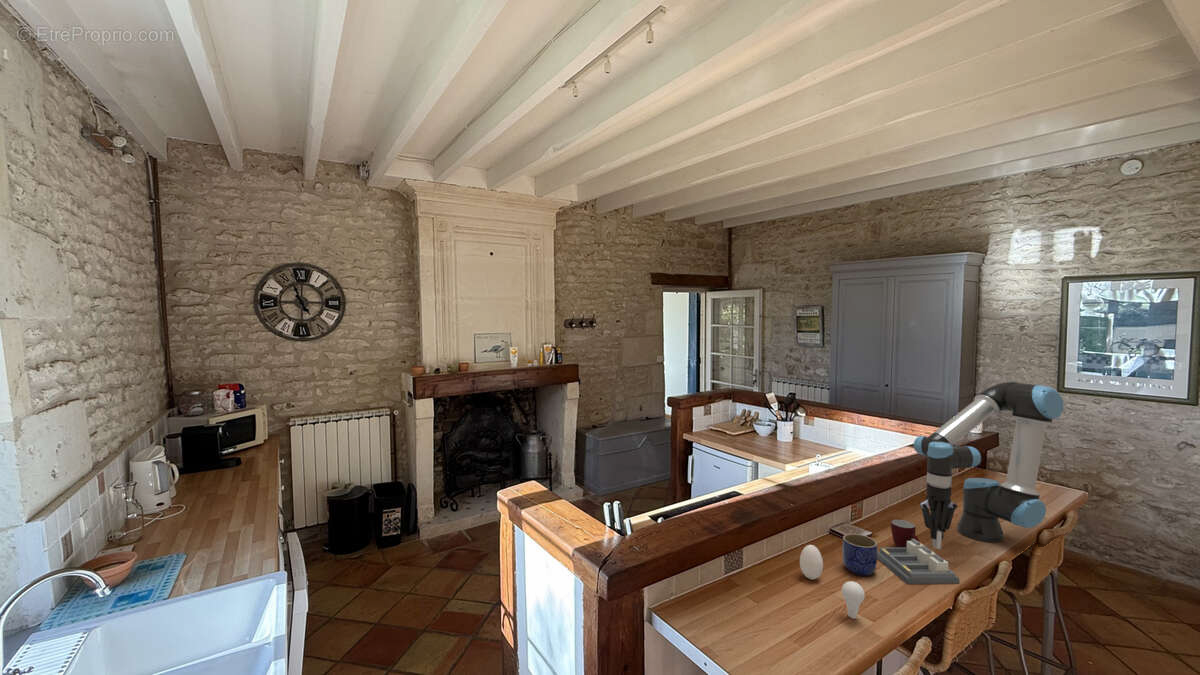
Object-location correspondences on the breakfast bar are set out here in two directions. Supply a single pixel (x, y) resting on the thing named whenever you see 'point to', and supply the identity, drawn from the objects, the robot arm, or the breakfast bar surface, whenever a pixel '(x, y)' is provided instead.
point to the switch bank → (913, 568)
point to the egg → (811, 562)
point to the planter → (859, 553)
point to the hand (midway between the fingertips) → (936, 547)
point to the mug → (902, 532)
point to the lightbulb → (853, 597)
